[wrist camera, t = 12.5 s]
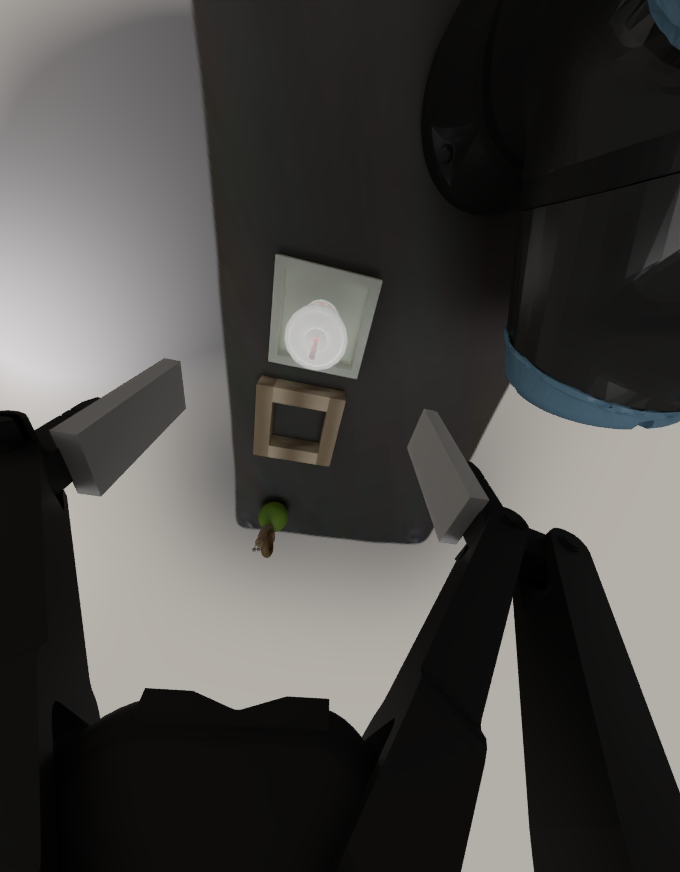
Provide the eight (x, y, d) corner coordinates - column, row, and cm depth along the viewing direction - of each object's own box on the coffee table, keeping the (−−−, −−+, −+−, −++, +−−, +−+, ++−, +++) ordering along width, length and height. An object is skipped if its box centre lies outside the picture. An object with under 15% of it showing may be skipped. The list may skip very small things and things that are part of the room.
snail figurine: (285, 490, 51) (272, 548, 41) (292, 513, 55) (282, 571, 45) (257, 493, 52) (238, 551, 42) (266, 515, 55) (250, 574, 45)
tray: (379, 278, 32) (382, 280, 30) (355, 372, 38) (356, 379, 36) (279, 253, 30) (275, 254, 28) (272, 354, 37) (268, 361, 35)
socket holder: (345, 391, 40) (345, 400, 37) (329, 454, 47) (329, 466, 44) (261, 375, 38) (256, 384, 36) (257, 443, 45) (253, 454, 43)
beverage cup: (285, 318, 34) (258, 354, 22) (321, 279, 31) (311, 297, 20) (320, 354, 36) (312, 404, 25) (355, 321, 34) (365, 359, 22)
